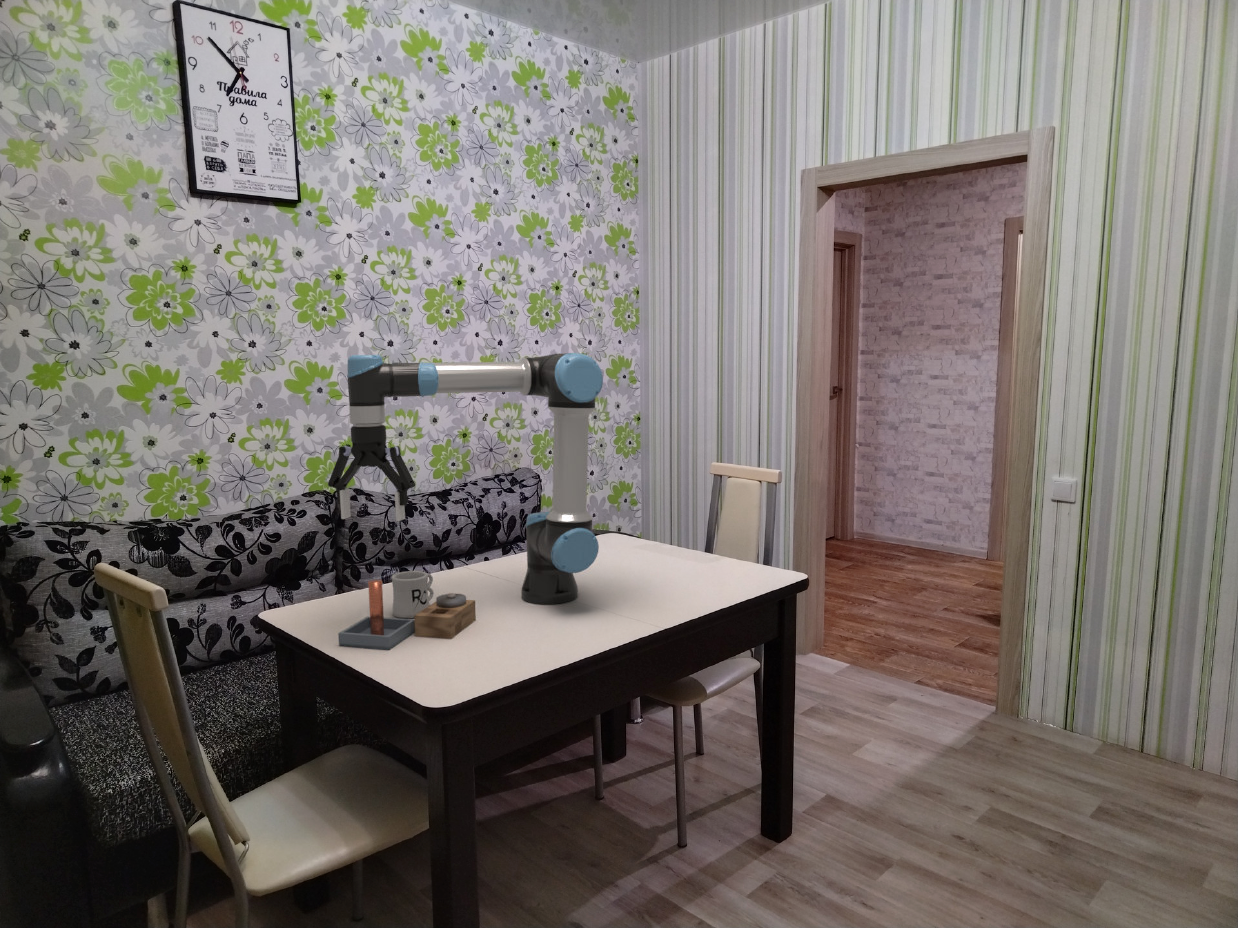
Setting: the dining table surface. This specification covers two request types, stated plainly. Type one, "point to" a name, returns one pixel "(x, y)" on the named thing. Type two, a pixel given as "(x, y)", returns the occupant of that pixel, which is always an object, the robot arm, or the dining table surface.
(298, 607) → the dining table surface
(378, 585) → the pin
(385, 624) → the tray
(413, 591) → the mug
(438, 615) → the block
